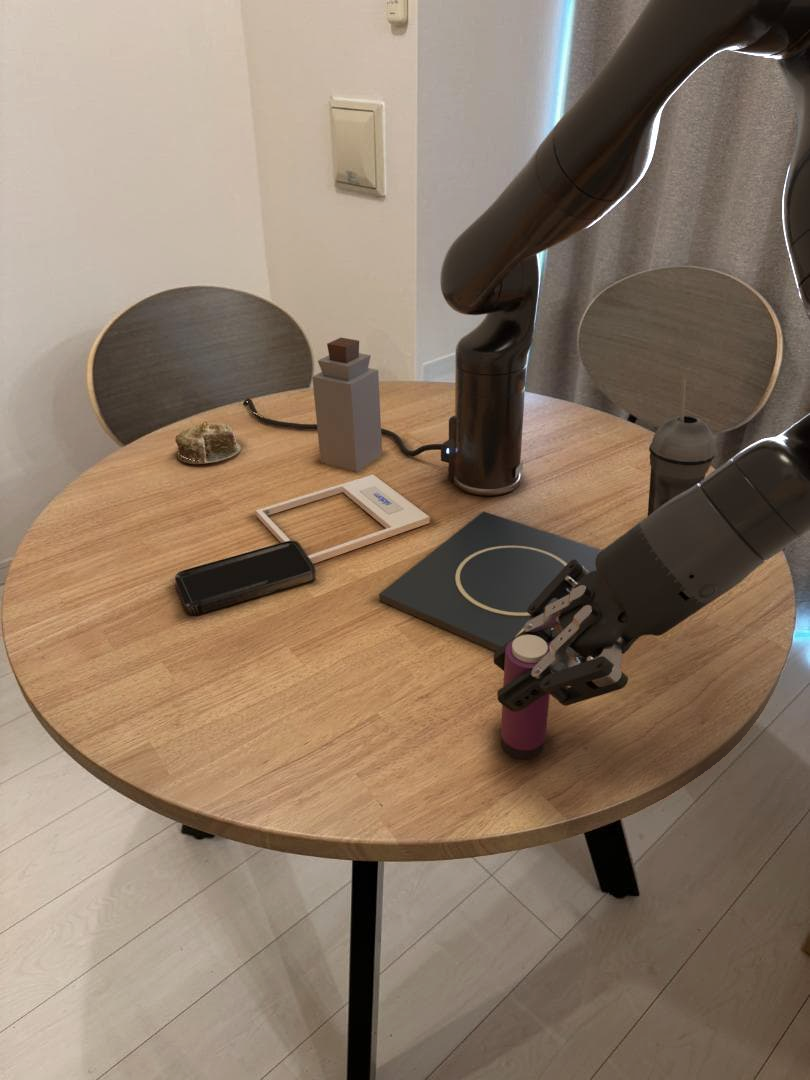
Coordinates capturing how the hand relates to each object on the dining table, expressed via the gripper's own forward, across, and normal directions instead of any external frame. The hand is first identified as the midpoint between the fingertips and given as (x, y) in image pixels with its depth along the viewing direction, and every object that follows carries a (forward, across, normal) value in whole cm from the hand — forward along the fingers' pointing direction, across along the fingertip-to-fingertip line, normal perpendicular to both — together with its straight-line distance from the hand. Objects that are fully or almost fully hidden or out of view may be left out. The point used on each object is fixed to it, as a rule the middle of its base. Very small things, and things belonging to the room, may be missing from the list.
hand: (503, 683), depth 60 cm
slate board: (+2, -23, +8) cm, 25 cm away
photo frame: (+18, -38, -8) cm, 43 cm away
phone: (+24, -24, -14) cm, 37 cm away
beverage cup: (-11, -34, +22) cm, 42 cm away
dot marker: (+4, 0, +6) cm, 7 cm away
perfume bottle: (+18, -57, -8) cm, 60 cm away
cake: (+34, -59, -24) cm, 72 cm away
